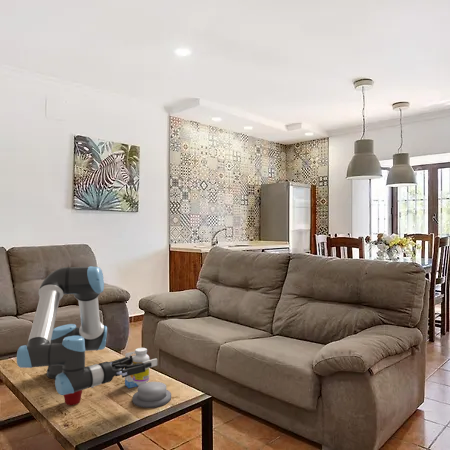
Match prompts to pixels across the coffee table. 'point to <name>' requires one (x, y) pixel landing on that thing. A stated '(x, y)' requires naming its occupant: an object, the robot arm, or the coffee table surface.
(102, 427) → the coffee table surface
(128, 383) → the ink box
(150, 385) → the grey hat
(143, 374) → the supplement bottle
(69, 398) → the plastic cup
